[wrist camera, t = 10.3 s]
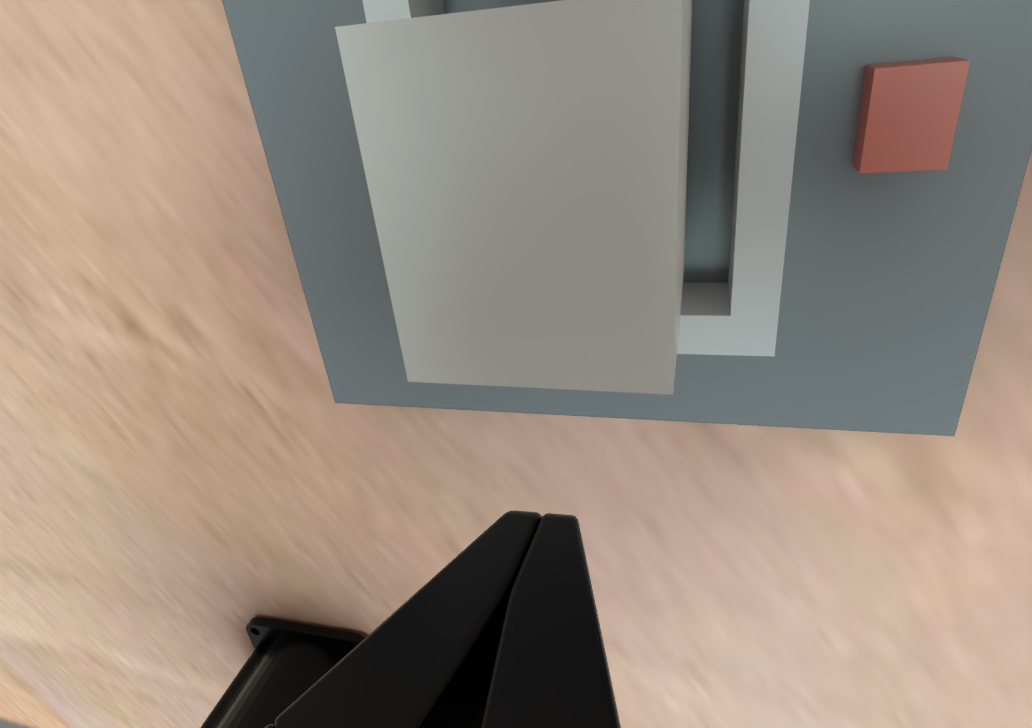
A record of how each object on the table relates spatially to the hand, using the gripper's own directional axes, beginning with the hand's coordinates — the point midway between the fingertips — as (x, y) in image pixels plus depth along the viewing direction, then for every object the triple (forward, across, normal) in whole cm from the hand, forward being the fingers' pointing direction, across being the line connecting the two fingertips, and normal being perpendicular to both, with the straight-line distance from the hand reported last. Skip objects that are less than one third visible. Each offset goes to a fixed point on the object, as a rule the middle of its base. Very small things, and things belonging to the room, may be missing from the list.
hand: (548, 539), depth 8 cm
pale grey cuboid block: (+10, +1, -3) cm, 11 cm away
